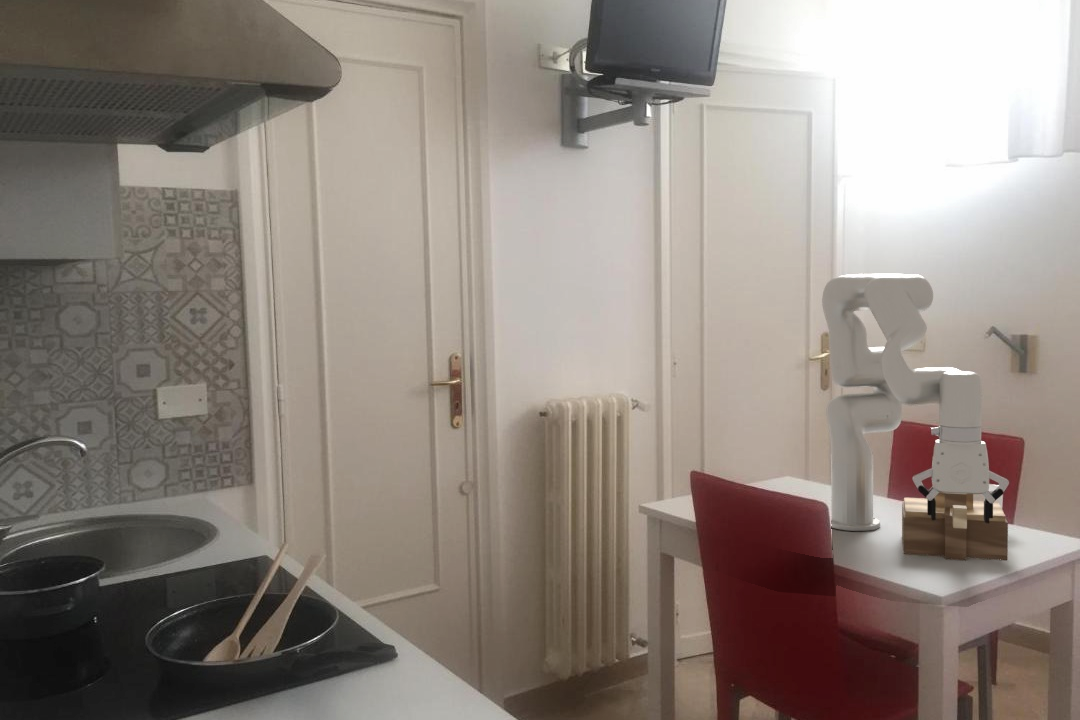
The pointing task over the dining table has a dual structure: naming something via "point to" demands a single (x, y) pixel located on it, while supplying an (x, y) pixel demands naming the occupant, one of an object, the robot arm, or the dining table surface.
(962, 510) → the wooden key
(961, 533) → the toolbox
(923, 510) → the lid
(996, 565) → the dining table surface
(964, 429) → the robot arm
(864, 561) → the dining table surface
